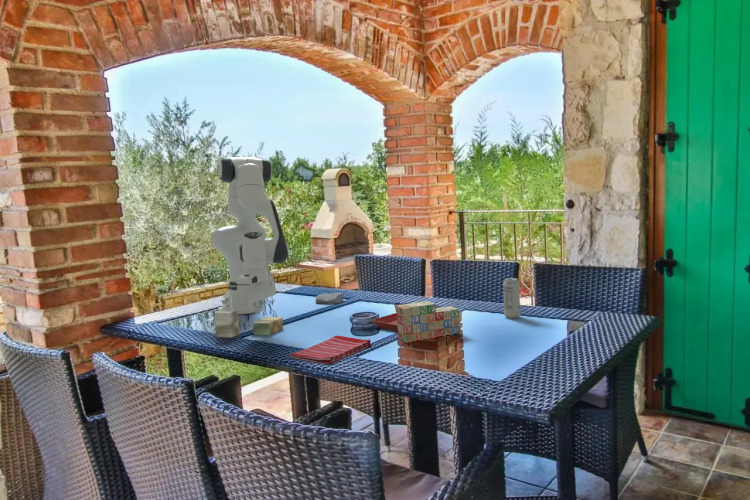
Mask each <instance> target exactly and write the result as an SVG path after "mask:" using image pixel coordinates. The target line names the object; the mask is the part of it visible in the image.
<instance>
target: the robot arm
mask: <svg viewBox="0 0 750 500" xmlns="http://www.w3.org/2000/svg"><path fill="white" fill-rule="evenodd" d="M217 169H218V175H219V178H220V180H222V182H225V183H228V196H227V211H228V213H229V215H231V216H232V217H233V218H236V219H237V225H228V226H226V225H225V226H222V227H219V228H216V229H214V230H213V232H212V234H211V237H210V238H211V239H210V240H211V244H212V246H213V248H214V249H215V250H216V251H218V252H219V253H220V254H221V255H222V256H223V257H224V258H225V260H226V262H227V266H228V272H229V281H228V282H227V284H228V289H227V291H226V293H225V294H224V295H223V296H222V299H221V304H222V306H219V307H217V311H220V310H237V313H238V315H245V314H253V313H254V314H255V313H256V314H259V313H261V312H263V311H264V308H265V299H268V298H271V297H273V296H275V295H276V294H277V289H276V283H275V279H274V277H273V274H272V273H271V272H270V271H268V264H283V263H284V262H285V261H286V260H287V259H288V258H289V253H290V252H289V251H290V249H289V246H288V243H287V241H286V237H285V235H284V232H283V228H282V224H281V220H280V217H279V212H278V210H277V207H276V205H275V204H276V203H275V202H274V201H273V200H271V199H270V198H269V197H268V195H267V194H266V191H265V188H266V187H265V184H267V183H269V181H271V179H272V178H271V177H272V176H273V167H272V162H271V161H270V160H269V159H267V158H262V157H261V158H260V157H259V158H257V157H252V156H251V157H250V156H244V157H242V156H241V157H236V156H235V157H231V156H228V157H223V158H222V159H221V160H220V162H219V164H218V168H217ZM255 215H258V216H261V217H264V218H265V219H267V220H268V222H269V224H270V227H271V232H272V236H273V237H270V238H267V231H266V229H265V228H264V226H263V225H262V224H260V222H259V221H258V220H257V218H256V216H255Z"/></svg>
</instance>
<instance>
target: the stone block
mask: <svg viewBox="0 0 750 500" xmlns="http://www.w3.org/2000/svg"><path fill="white" fill-rule="evenodd" d="M343 300H344V295H343V293H342V292H333V293H326V292H324V293H320V294H318V295H316V297H315V303H316V304H322V305H323V304H324V305H325V304H326V305H335V304H334V303H337V304H340V303H341V302H343ZM339 302H340V303H339Z"/></svg>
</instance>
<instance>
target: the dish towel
mask: <svg viewBox="0 0 750 500" xmlns="http://www.w3.org/2000/svg"><path fill="white" fill-rule="evenodd" d="M371 342H372V341H371V339H370V338H369V339H361V338H357V337H349V336H348V337H347V336H343V335H334V336H332V337H330V338H329V339H326V340H324V341H322V342H319V343H316V344H314V345H312V346H310V347H309V346H308V347H307V348H305V349H302V350H300V351H297V352H293V353H290V356H289V357H290V358H291V359H294V358H295V359H294V360H300V359H301V361H307V362H312V363H318V364H324V365H330V364H333V363H336V362H338V361H340V360H343V359H345V358H347V357H350V356H351V355H354V354H357V353H359V352H360V351H363V350H365V349H367V348H370V347H371V346H372V344H371Z"/></svg>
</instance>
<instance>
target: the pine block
mask: <svg viewBox="0 0 750 500" xmlns="http://www.w3.org/2000/svg"><path fill="white" fill-rule="evenodd" d="M238 315H239V314H238V313H237V310H220V311H219V310H217V311H215V312H214V321H215V330H216V331H215V332H216V339H219V338H224V339H225V340H234V339H237V338H239V337H240V327H239V316H238ZM238 336H239V337H238ZM224 339H223V340H224Z"/></svg>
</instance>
